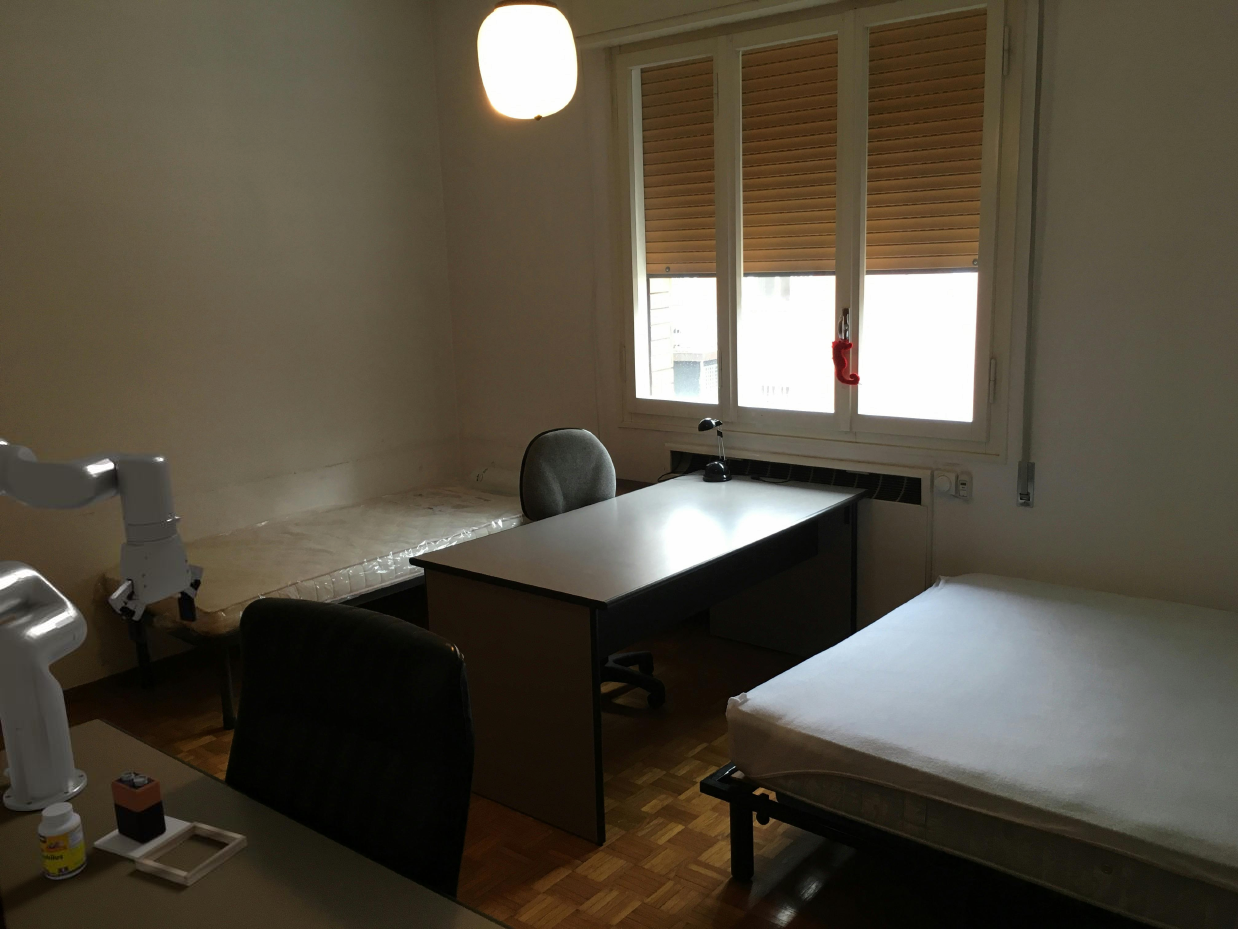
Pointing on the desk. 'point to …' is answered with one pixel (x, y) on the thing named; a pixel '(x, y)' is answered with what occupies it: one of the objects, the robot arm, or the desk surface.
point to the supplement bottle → (61, 841)
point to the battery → (138, 806)
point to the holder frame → (188, 879)
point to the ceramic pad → (135, 849)
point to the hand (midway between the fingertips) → (164, 630)
